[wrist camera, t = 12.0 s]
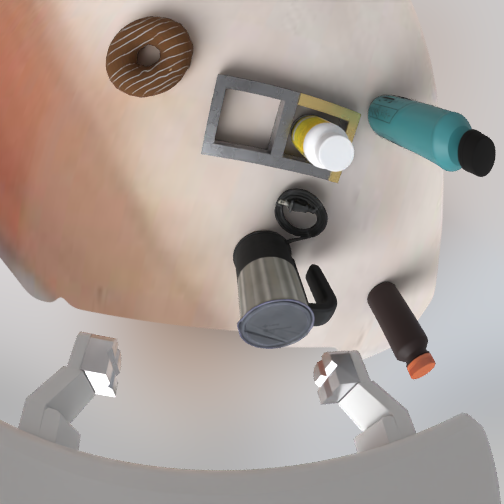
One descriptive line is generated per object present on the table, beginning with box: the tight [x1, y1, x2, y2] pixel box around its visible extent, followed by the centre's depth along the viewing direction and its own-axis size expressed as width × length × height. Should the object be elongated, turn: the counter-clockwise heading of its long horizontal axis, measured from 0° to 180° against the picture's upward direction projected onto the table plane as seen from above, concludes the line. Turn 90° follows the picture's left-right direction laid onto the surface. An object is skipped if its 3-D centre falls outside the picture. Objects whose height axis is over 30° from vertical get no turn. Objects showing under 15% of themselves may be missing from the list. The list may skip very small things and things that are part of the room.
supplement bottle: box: [290, 115, 354, 172], centre depth 30 cm, size 5×5×10 cm
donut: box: [106, 16, 193, 97], centre depth 24 cm, size 11×11×4 cm
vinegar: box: [367, 282, 435, 379], centre depth 45 cm, size 7×7×20 cm
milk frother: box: [233, 189, 337, 349], centre depth 36 cm, size 14×16×15 cm
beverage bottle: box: [368, 94, 495, 177], centre depth 24 cm, size 6×7×20 cm
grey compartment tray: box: [201, 74, 361, 183], centre depth 32 cm, size 10×18×3 cm, turn 77°
